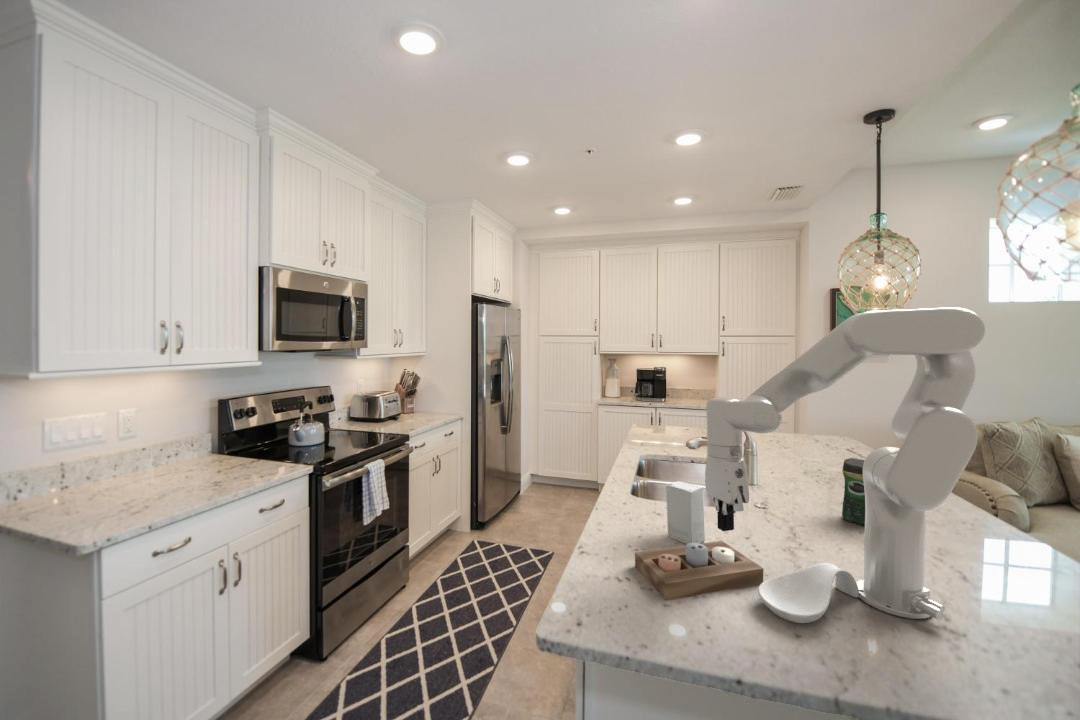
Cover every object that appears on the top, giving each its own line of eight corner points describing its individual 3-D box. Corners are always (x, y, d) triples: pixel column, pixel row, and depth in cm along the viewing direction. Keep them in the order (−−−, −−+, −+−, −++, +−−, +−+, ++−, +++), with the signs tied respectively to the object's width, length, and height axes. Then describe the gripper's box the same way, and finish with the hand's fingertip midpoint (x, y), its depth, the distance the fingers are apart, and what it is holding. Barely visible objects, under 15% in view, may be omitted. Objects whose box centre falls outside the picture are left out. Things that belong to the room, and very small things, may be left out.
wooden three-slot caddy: (763, 583, 95) (763, 568, 95) (666, 599, 89) (666, 583, 89) (721, 554, 108) (721, 540, 108) (635, 566, 103) (635, 552, 102)
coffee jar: (886, 523, 127) (887, 461, 126) (876, 530, 122) (877, 465, 122) (848, 513, 135) (849, 454, 134) (837, 519, 130) (838, 458, 130)
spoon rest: (800, 641, 77) (801, 602, 77) (745, 605, 88) (745, 571, 87) (877, 607, 87) (878, 572, 86) (818, 579, 97) (819, 548, 97)
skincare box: (705, 542, 115) (705, 487, 115) (690, 547, 112) (691, 491, 112) (679, 530, 122) (679, 479, 122) (665, 536, 119) (665, 483, 119)
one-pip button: (738, 573, 99) (738, 554, 99) (720, 576, 98) (720, 556, 97) (724, 563, 103) (725, 544, 103) (707, 566, 102) (707, 547, 102)
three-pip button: (684, 582, 95) (685, 561, 95) (665, 585, 94) (665, 564, 94) (673, 571, 100) (673, 551, 100) (654, 573, 99) (654, 554, 99)
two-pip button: (712, 570, 97) (712, 550, 97) (693, 573, 96) (693, 552, 96) (699, 560, 102) (699, 540, 101) (681, 562, 100) (681, 543, 100)
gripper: (762, 457, 93) (763, 540, 94) (717, 443, 108) (718, 515, 108) (732, 460, 91) (734, 545, 92) (691, 445, 106) (692, 519, 106)
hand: (725, 529), depth 100 cm, fingers closed
